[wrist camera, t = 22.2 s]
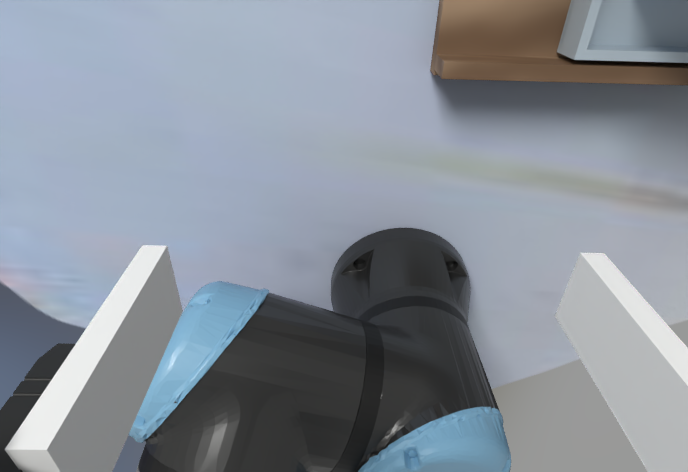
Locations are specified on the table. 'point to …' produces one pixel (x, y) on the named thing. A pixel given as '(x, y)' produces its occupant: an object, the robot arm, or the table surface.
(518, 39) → the bay
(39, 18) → the table surface
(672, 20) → the shallow square tray
